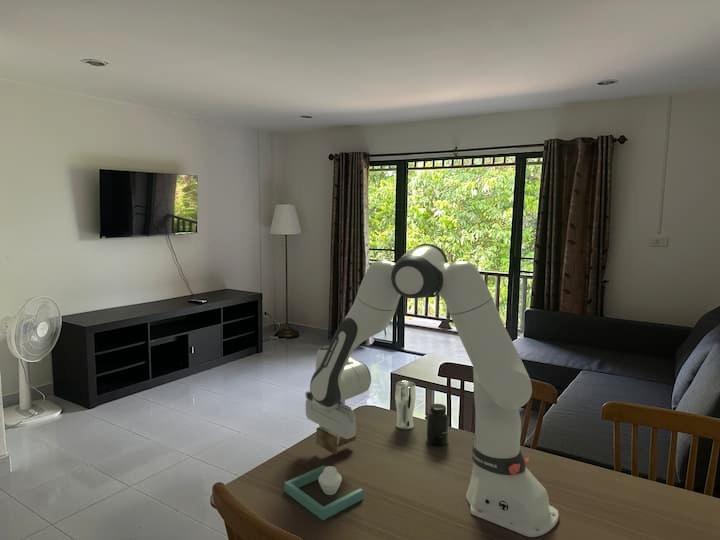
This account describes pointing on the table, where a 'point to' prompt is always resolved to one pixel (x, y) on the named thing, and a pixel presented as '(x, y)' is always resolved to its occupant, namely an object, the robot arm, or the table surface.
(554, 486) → the table surface
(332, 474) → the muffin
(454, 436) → the table surface
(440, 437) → the supplement bottle
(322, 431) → the wooden post on base
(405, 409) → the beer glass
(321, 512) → the frame
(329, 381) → the robot arm
